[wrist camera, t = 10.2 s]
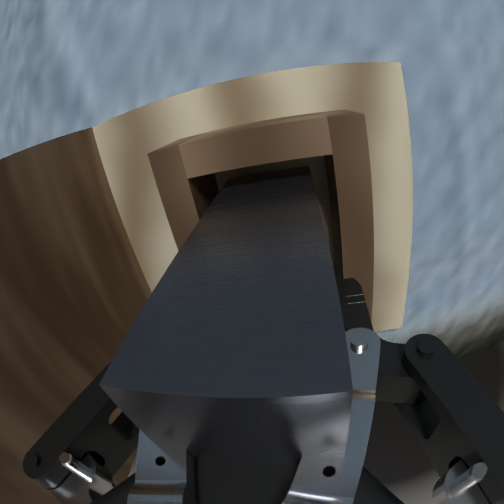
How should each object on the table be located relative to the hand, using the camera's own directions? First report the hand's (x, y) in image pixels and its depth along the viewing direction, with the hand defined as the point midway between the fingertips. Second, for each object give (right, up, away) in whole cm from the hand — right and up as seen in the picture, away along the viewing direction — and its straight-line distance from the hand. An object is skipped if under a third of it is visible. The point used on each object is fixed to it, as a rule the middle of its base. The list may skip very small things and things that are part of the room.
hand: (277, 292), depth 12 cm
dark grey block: (+1, +2, +4) cm, 4 cm away
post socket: (-2, +3, +6) cm, 7 cm away
